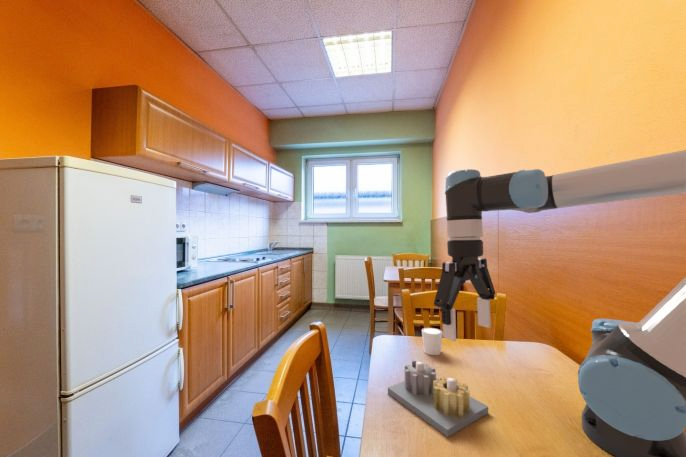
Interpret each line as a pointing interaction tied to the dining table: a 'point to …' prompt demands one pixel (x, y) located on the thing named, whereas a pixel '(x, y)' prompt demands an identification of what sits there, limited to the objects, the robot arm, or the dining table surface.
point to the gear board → (420, 399)
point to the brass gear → (451, 398)
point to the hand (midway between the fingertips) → (468, 332)
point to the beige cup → (432, 340)
